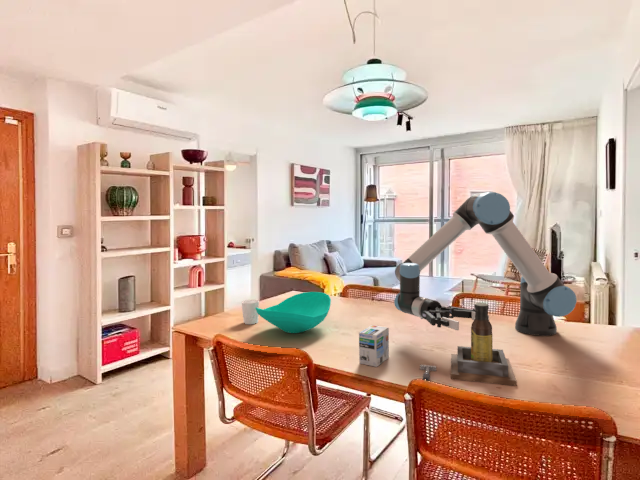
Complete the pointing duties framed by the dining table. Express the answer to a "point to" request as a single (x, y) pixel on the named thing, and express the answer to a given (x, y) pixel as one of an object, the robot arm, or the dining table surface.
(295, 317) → the table top decor
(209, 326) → the dining table surface
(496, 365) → the grey square tray
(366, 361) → the light bulb box
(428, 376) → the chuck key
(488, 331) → the sauce bottle
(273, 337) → the dining table surface
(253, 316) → the white cup
